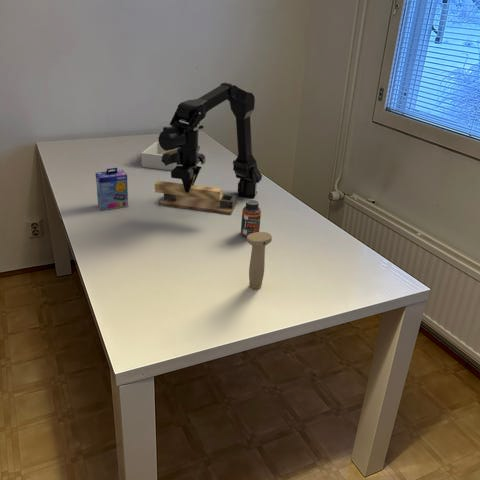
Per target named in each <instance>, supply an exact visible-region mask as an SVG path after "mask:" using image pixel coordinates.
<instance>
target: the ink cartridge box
mask: <svg viewBox="0 0 480 480" xmlns="http://www.w3.org/2000/svg"><path fill="white" fill-rule="evenodd" d="M95 181H96V183H95V184H96V195H97V206H98V207H99V209H100V211H106V210H113V209H115V210H116V209H121V208H128V207H129V197H128V196H129V193H128V192H129V191H128V187H129V186H128V174H127V172H125V170H124V169H118V167H112V168H106V170H104V171H98V172H95Z"/></svg>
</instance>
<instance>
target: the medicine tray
mask: <svg viewBox="0 0 480 480" xmlns="http://www.w3.org/2000/svg"><path fill="white" fill-rule="evenodd" d="M177 149H178V148H175V149H171V150H177ZM171 150H168V151H171ZM163 152H167V151H165V150H163V149H162V148H161V146H160V144H159V141H155V142H153V144H151V145H150V146H148V147H147V148H146V149H145V150H143V151H142V152H141V153H140V155H141V167H142V168H148V169H149V168H151V169H158V170H166V171H172V170H173V169H174V168H175V167H176V166H182V165H177V162H176V163H172V164H169V165H167V166H165V164H164V163H163V162H162V161H161V160H162V158H161V157H162V156H163V155H160V154H159V153H163Z"/></svg>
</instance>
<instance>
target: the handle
mask: <svg viewBox="0 0 480 480" xmlns="http://www.w3.org/2000/svg"><path fill="white" fill-rule="evenodd" d="M272 240H273V236H272V234H270V233H269V232H268V231H267V232H266V231H259V232H255V233H251V234H249V235H248V236H247V237H246V243H247V244H249V245H251V251H250V252H251V254H250V259H249V268H248V281H249V282H248V284H249V285H248V286H249V287H250V288H251V289H252V290H255V289H256V290H259V289H260V288H261V287H262V285H263V281H264V275H265V263H266V262H265V261H266V260H265V257H266V255H265V254H266V246H267V245H269V244H270V243H271V242H272Z"/></svg>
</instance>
